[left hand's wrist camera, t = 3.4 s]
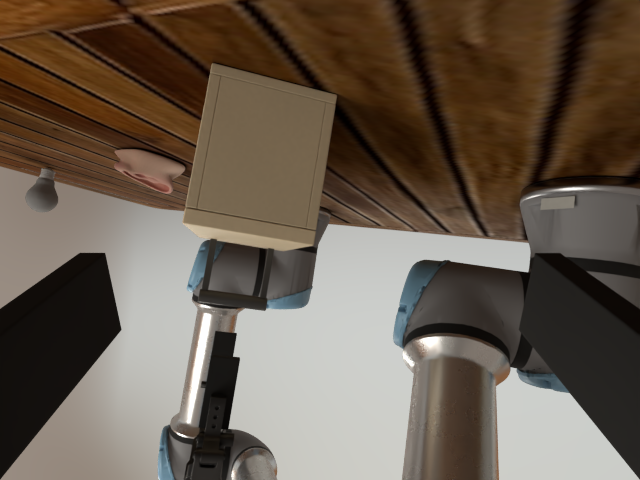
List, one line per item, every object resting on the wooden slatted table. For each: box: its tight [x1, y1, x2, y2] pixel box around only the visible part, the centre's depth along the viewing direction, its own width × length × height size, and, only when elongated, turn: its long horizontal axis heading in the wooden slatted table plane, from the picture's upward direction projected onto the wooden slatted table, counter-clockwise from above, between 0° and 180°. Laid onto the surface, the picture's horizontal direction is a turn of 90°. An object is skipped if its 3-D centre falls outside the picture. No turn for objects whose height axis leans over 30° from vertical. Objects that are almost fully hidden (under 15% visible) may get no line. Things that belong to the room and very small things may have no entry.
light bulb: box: [26, 168, 58, 212], centre depth 89 cm, size 6×6×10 cm
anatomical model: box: [114, 149, 185, 193], centre depth 67 cm, size 13×4×12 cm
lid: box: [183, 208, 316, 311], centre depth 39 cm, size 18×10×8 cm, turn 167°
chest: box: [186, 63, 337, 230], centre depth 39 cm, size 17×10×11 cm, turn 167°
